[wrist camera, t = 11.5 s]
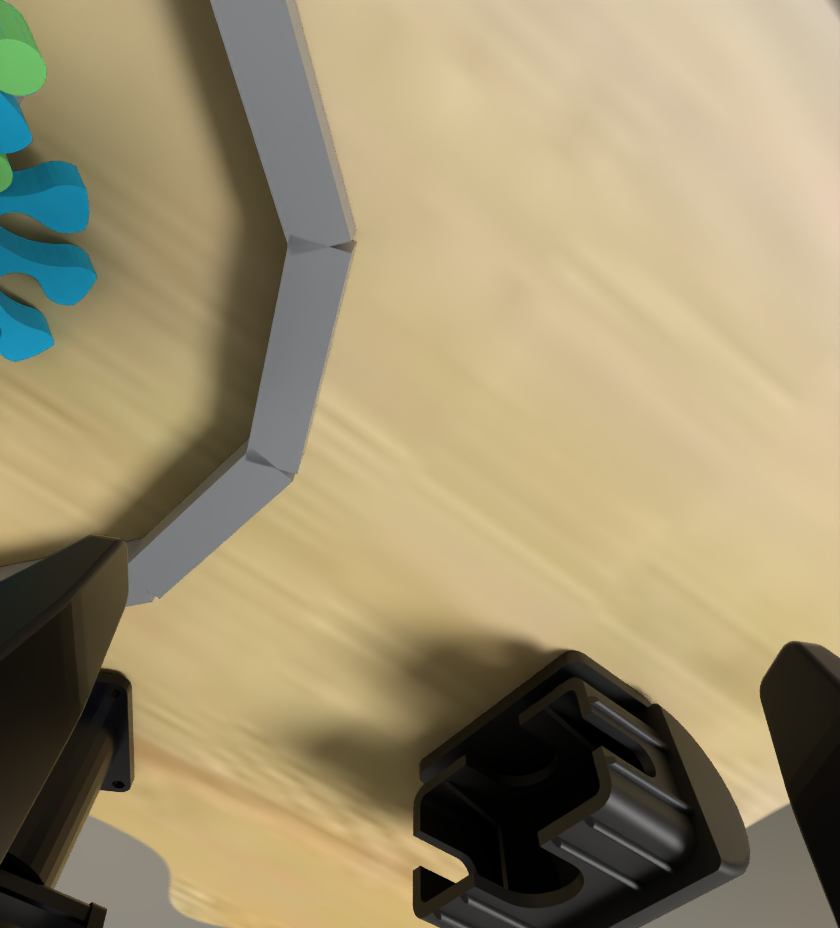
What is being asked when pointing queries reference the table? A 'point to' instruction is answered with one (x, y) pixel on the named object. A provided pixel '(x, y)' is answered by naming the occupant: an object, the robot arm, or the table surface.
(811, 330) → the table surface
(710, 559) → the table surface
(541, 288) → the table surface
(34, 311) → the blue spiky figure
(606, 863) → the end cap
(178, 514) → the ring
